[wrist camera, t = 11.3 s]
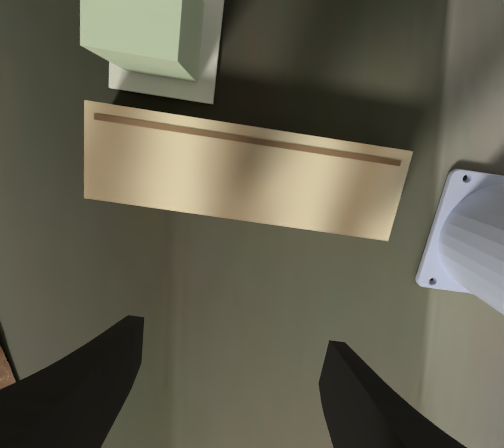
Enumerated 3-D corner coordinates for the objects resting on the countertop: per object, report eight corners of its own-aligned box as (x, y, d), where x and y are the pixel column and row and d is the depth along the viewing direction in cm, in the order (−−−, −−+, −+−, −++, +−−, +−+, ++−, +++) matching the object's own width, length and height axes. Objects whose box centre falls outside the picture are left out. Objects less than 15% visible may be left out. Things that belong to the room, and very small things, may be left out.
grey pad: (225, -13, 17) (225, -16, 16) (213, 104, 18) (212, 103, 18) (114, -32, 16) (111, -36, 16) (111, 88, 18) (108, 87, 18)
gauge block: (204, 3, 17) (186, -53, 12) (197, 82, 18) (177, 61, 13) (130, -10, 16) (80, -73, 12) (127, 71, 17) (80, 45, 13)
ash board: (388, 149, 19) (413, 151, 16) (368, 226, 20) (388, 241, 17) (110, 106, 18) (84, 100, 15) (108, 189, 20) (83, 198, 17)
